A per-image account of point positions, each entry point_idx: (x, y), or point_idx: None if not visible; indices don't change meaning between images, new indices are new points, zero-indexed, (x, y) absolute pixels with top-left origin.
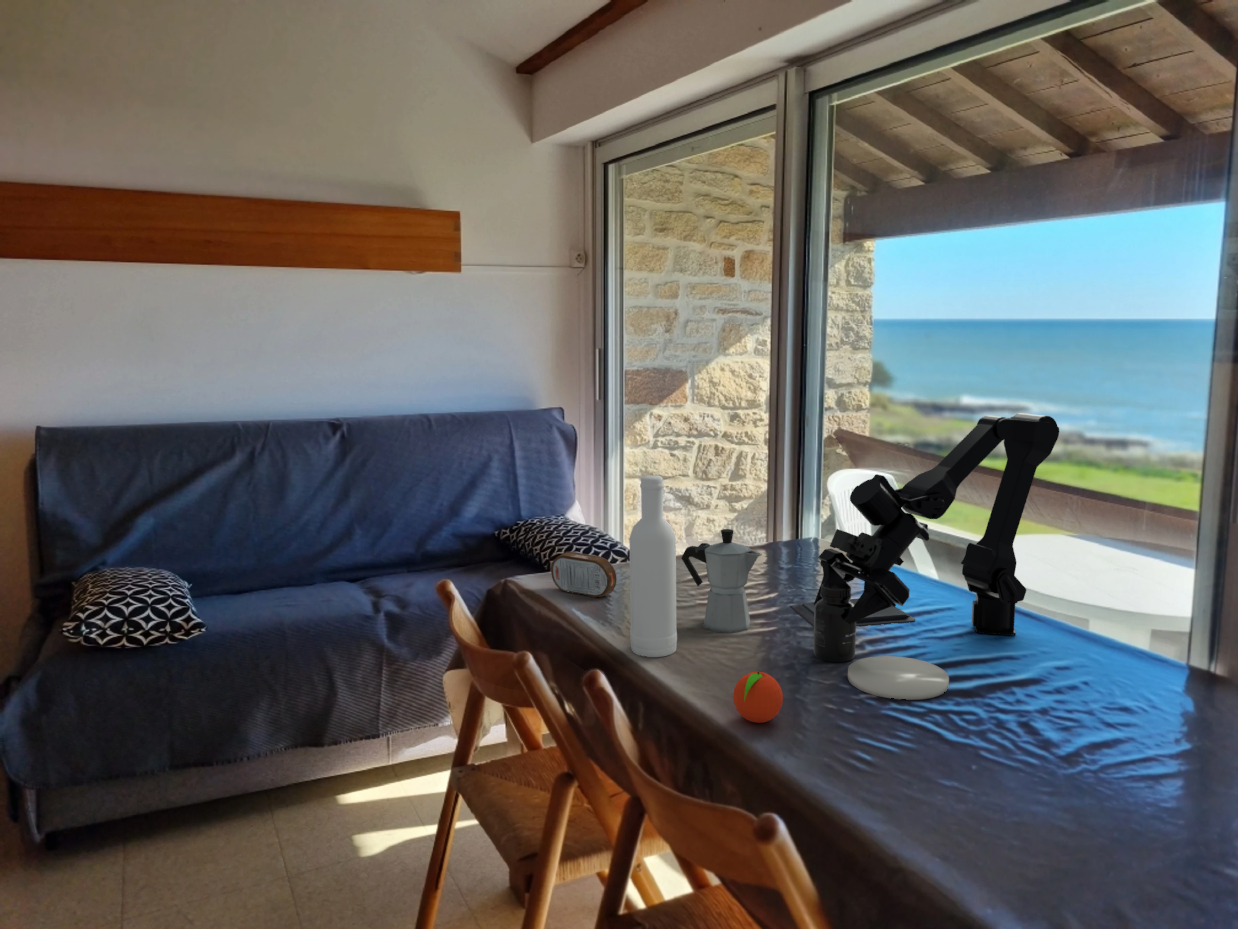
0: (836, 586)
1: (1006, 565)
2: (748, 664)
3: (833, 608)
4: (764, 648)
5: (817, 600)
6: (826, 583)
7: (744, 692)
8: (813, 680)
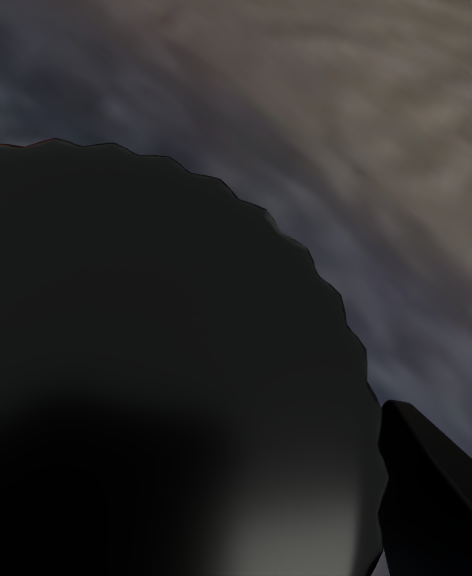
0: (20, 434)
1: None
2: (277, 83)
3: None
4: (388, 230)
5: (407, 428)
6: (355, 419)
7: None
8: (8, 143)
